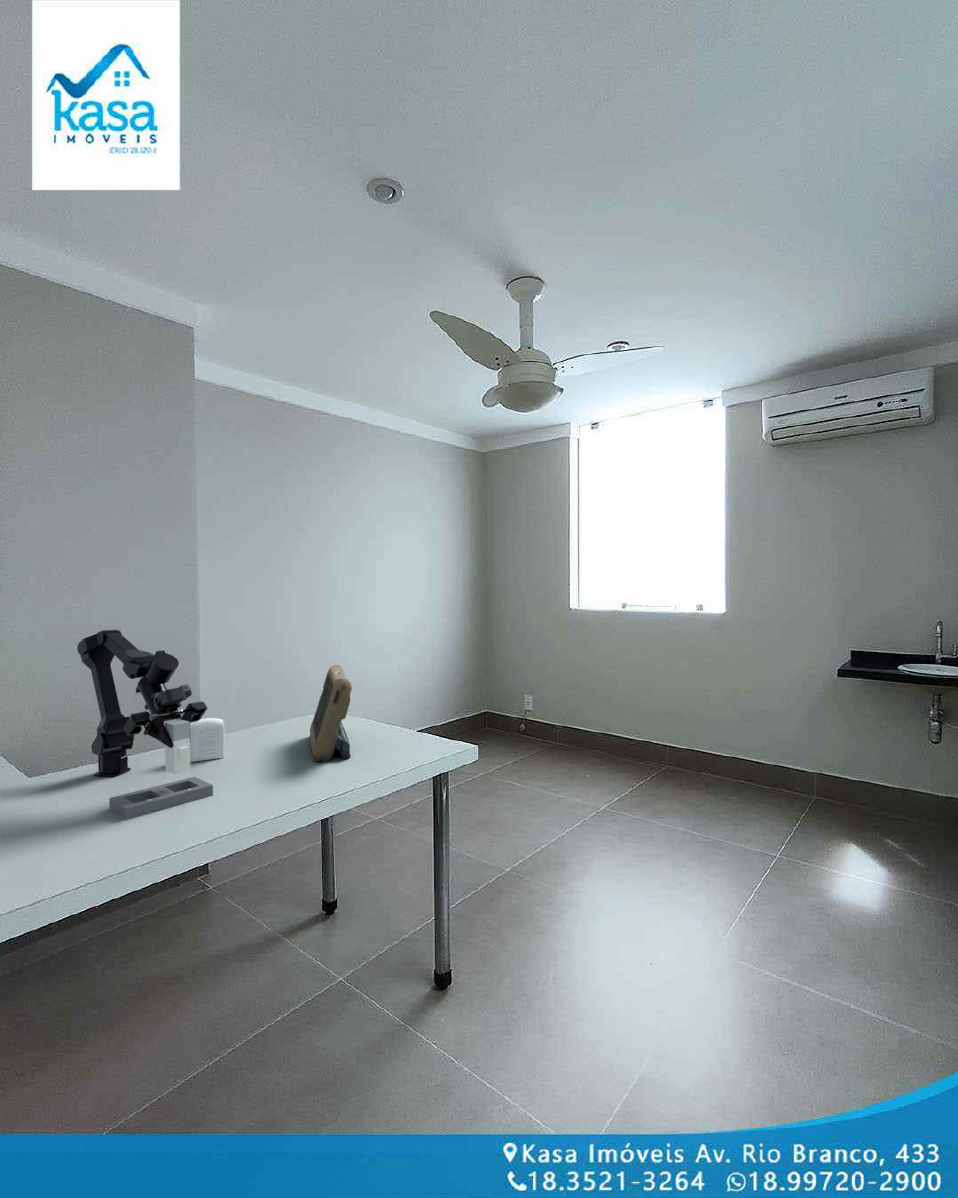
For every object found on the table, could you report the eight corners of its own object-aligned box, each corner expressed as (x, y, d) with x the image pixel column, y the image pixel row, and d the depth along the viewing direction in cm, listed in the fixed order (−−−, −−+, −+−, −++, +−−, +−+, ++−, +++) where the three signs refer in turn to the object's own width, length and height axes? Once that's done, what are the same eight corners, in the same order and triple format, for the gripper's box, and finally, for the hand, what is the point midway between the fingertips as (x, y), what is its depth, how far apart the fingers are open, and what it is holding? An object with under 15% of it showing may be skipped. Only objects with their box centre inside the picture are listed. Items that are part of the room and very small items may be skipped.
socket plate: (109, 808, 139) (109, 797, 139) (194, 785, 155) (194, 775, 155) (125, 819, 133) (125, 807, 133) (212, 794, 149) (212, 784, 148)
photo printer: (223, 754, 183) (222, 715, 182) (225, 758, 179) (225, 717, 179) (186, 760, 177) (186, 719, 176) (188, 763, 173) (188, 722, 173)
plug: (165, 770, 146) (164, 722, 145) (181, 766, 149) (180, 719, 149) (176, 774, 143) (175, 725, 143) (192, 769, 147) (191, 722, 146)
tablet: (302, 736, 204) (301, 665, 203) (342, 733, 209) (342, 663, 208) (313, 764, 174) (313, 680, 173) (360, 759, 179) (360, 677, 178)
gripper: (129, 680, 140) (154, 733, 134) (203, 670, 156) (228, 717, 150) (113, 709, 145) (137, 761, 139) (186, 696, 160) (210, 743, 155)
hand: (180, 744), depth 145 cm, fingers closed on plug, 4 cm apart
